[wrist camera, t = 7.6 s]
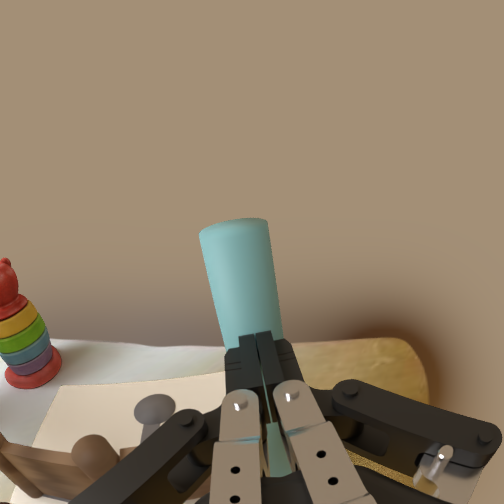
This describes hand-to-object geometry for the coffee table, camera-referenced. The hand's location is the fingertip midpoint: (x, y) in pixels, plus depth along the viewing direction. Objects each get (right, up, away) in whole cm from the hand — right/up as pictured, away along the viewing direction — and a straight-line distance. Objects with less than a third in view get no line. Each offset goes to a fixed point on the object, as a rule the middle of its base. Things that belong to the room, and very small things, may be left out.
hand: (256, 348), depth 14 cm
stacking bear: (-33, -14, +22) cm, 42 cm away
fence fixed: (-15, -17, +3) cm, 23 cm away
